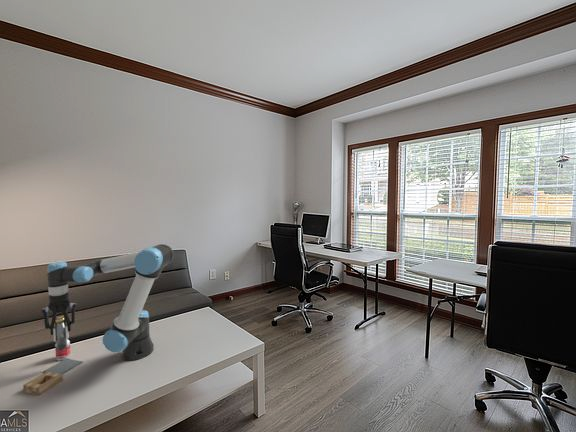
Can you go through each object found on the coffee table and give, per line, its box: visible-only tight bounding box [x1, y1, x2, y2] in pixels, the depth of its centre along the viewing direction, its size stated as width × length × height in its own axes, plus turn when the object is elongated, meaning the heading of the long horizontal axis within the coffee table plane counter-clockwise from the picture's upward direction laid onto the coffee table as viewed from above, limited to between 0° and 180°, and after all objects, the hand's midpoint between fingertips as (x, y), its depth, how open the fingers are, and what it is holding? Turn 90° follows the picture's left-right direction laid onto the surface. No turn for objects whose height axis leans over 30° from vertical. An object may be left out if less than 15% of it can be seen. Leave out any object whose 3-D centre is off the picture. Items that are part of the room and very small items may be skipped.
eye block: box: [22, 372, 64, 396], centre depth 124 cm, size 10×10×3 cm
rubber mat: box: [43, 358, 83, 376], centre depth 139 cm, size 11×11×1 cm
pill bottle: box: [54, 338, 72, 362], centre depth 147 cm, size 6×6×11 cm
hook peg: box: [54, 315, 67, 350], centre depth 138 cm, size 5×5×16 cm
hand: (61, 339), depth 138 cm, fingers closed on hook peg, 4 cm apart
